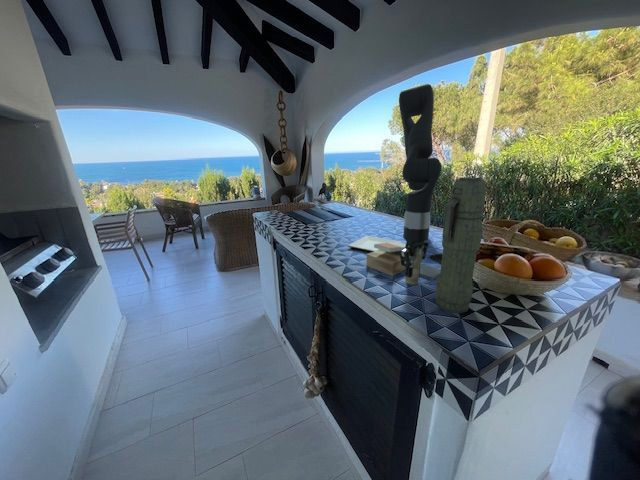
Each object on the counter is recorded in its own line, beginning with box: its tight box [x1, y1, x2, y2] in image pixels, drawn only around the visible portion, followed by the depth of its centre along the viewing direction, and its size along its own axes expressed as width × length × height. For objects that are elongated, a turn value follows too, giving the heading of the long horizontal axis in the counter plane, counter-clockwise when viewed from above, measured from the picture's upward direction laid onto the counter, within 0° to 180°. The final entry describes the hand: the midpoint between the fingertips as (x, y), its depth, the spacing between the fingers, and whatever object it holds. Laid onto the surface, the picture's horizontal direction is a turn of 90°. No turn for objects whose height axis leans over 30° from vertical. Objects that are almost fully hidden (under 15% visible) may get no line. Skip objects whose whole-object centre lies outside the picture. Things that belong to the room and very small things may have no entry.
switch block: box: [366, 249, 406, 277], centre depth 100 cm, size 18×12×6 cm, turn 130°
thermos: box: [434, 177, 487, 314], centre depth 67 cm, size 9×12×35 cm
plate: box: [347, 235, 402, 253], centre depth 120 cm, size 19×19×2 cm
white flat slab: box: [374, 242, 406, 252], centre depth 98 cm, size 16×7×1 cm, turn 130°
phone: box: [429, 252, 443, 265], centre depth 100 cm, size 8×1×15 cm
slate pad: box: [419, 263, 441, 281], centre depth 92 cm, size 8×8×1 cm
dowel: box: [405, 249, 421, 286], centre depth 84 cm, size 4×4×12 cm
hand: (412, 274), depth 85 cm, fingers closed on dowel, 4 cm apart
